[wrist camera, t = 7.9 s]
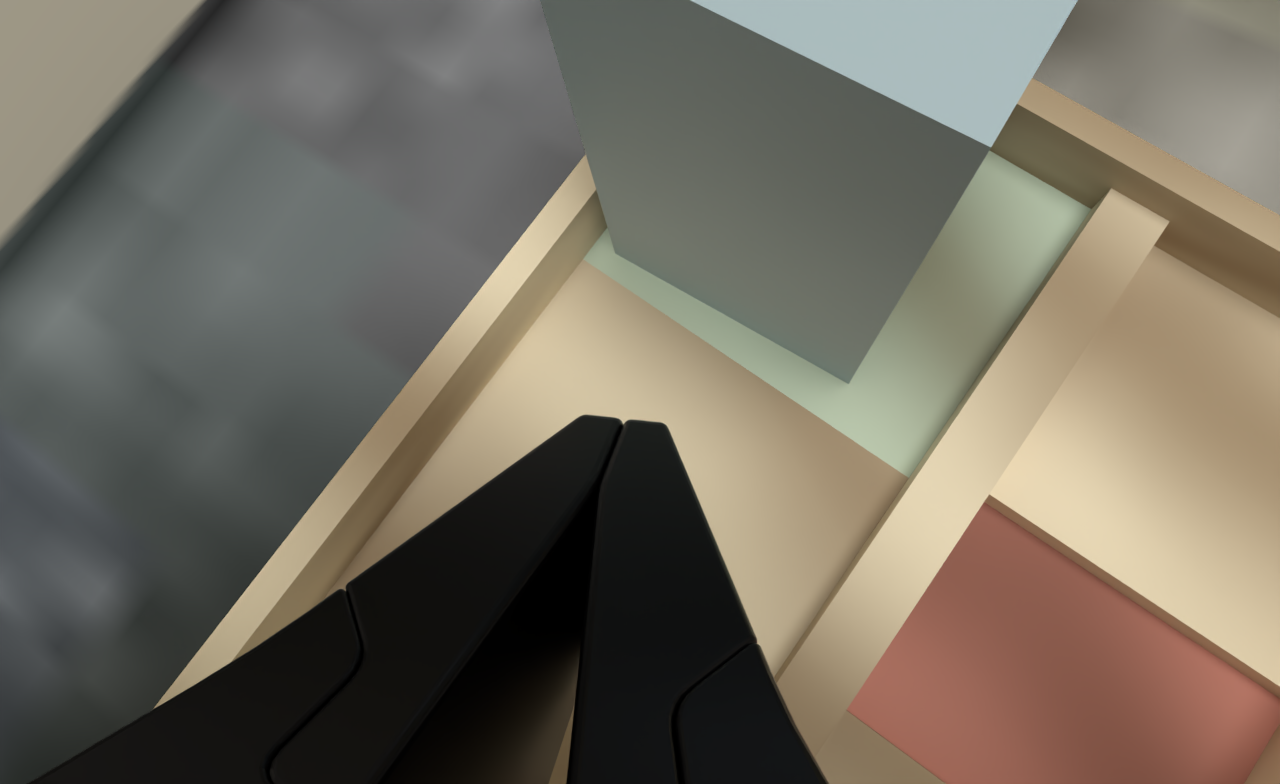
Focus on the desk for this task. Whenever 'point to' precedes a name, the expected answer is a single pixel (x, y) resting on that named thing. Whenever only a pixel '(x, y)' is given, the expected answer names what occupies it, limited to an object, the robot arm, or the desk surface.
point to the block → (792, 144)
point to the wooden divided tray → (917, 469)
